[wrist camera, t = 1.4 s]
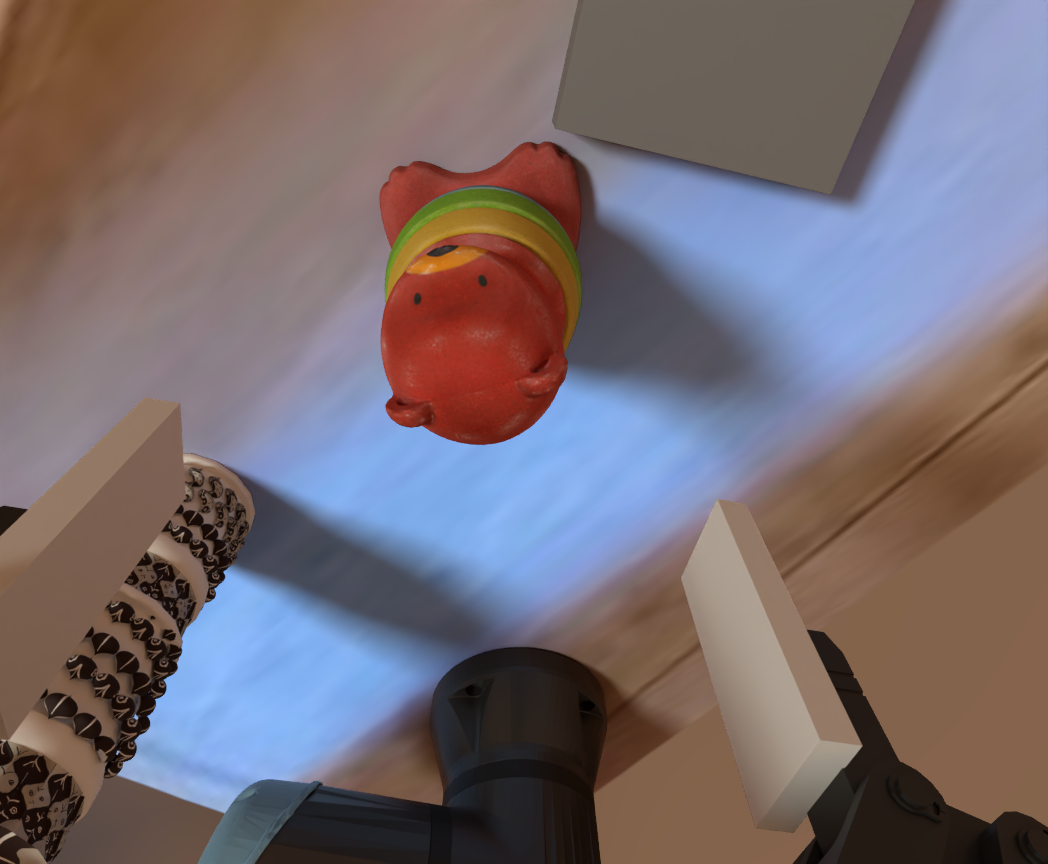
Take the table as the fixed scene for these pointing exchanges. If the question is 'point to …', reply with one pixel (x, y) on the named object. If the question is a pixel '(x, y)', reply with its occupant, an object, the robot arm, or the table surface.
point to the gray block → (730, 80)
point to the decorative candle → (118, 669)
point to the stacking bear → (480, 292)
